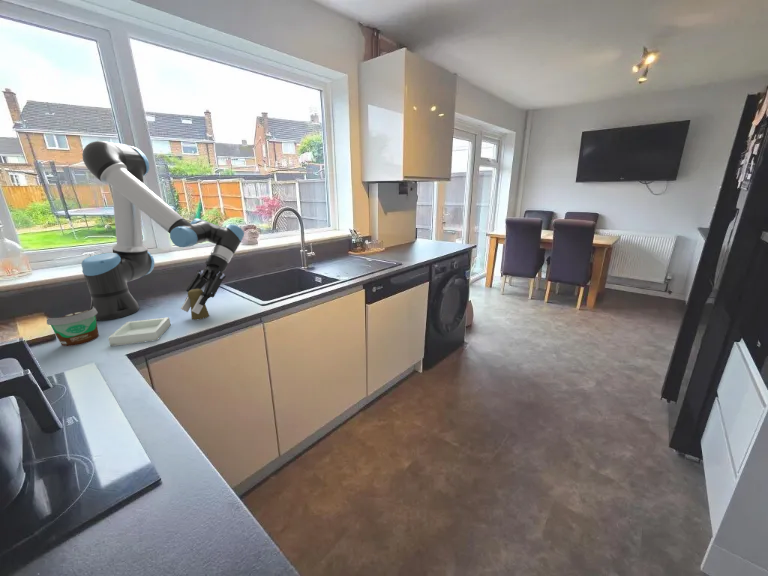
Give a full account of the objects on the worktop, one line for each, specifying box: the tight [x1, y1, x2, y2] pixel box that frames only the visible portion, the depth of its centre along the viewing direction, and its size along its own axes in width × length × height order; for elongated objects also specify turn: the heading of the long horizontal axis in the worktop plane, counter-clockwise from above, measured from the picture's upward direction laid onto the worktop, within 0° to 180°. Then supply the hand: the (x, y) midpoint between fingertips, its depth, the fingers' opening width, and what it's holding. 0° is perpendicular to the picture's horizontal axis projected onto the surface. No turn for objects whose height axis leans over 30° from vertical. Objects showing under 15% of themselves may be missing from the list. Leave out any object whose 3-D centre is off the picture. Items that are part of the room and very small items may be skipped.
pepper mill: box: [187, 288, 210, 321], centre depth 123 cm, size 6×6×11 cm
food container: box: [46, 307, 100, 347], centre depth 104 cm, size 12×6×10 cm, turn 148°
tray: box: [107, 317, 172, 347], centre depth 109 cm, size 13×13×3 cm
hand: (189, 311), depth 120 cm, fingers open, 5 cm apart
